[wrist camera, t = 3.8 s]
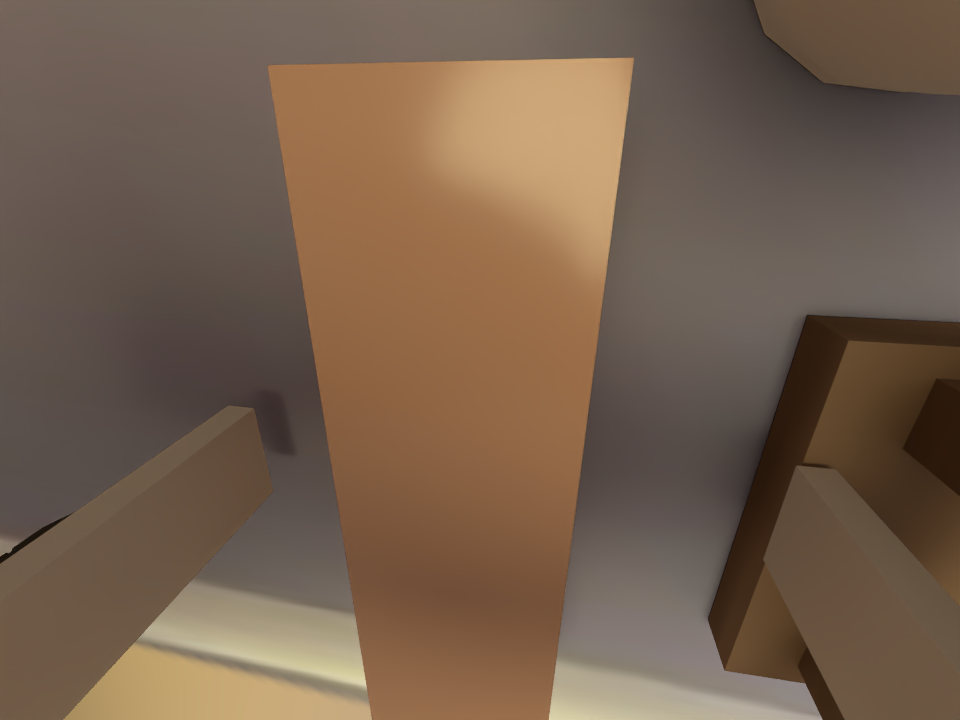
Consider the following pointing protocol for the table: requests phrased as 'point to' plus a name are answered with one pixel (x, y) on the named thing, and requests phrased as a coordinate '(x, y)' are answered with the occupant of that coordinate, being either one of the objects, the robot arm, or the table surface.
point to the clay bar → (455, 352)
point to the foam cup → (871, 41)
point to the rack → (849, 473)
